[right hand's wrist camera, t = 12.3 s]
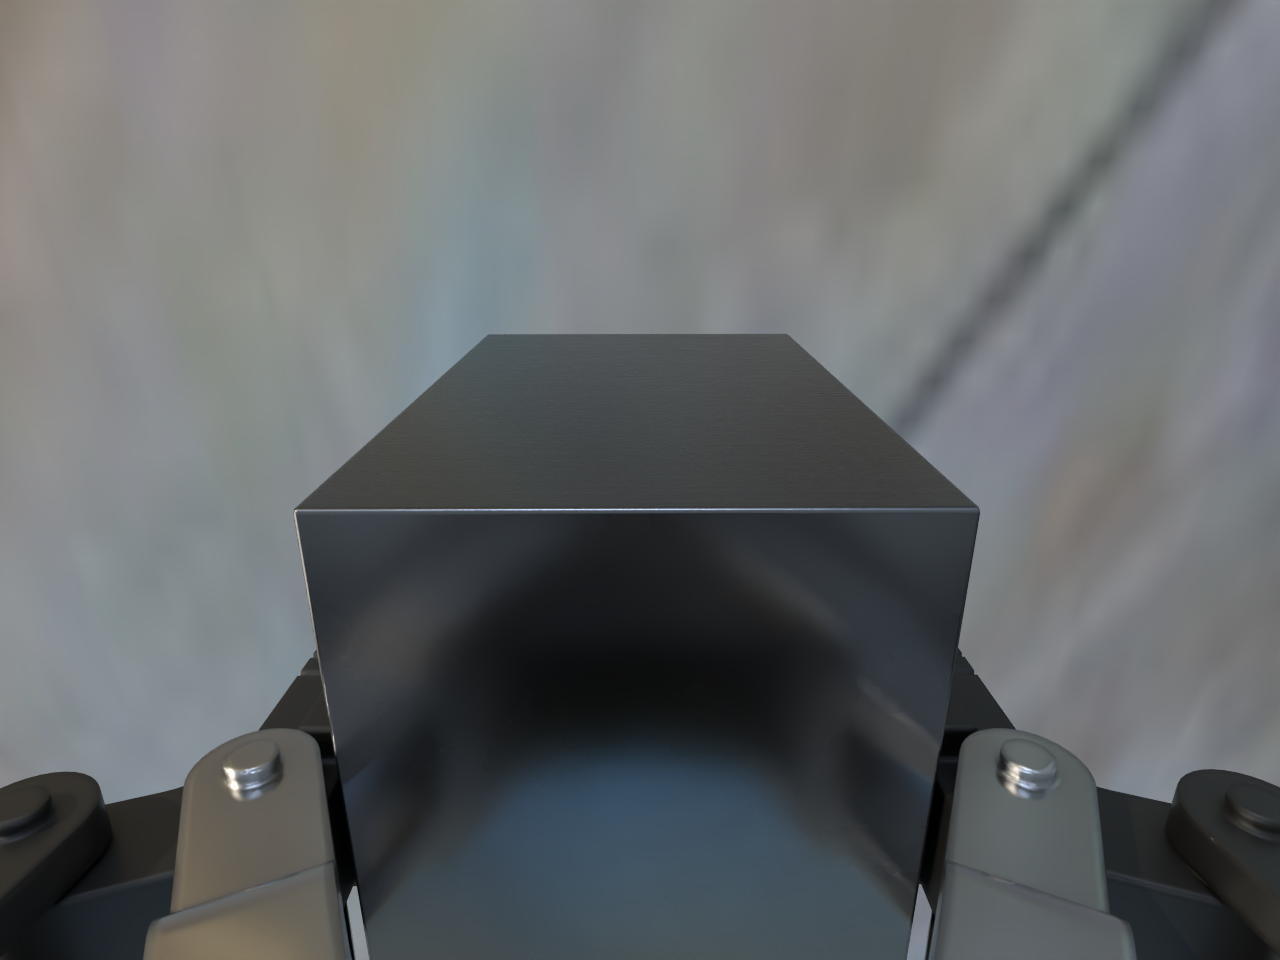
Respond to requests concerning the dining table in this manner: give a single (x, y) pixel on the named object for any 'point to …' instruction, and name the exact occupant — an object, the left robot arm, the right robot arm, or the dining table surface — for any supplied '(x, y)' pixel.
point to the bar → (637, 655)
